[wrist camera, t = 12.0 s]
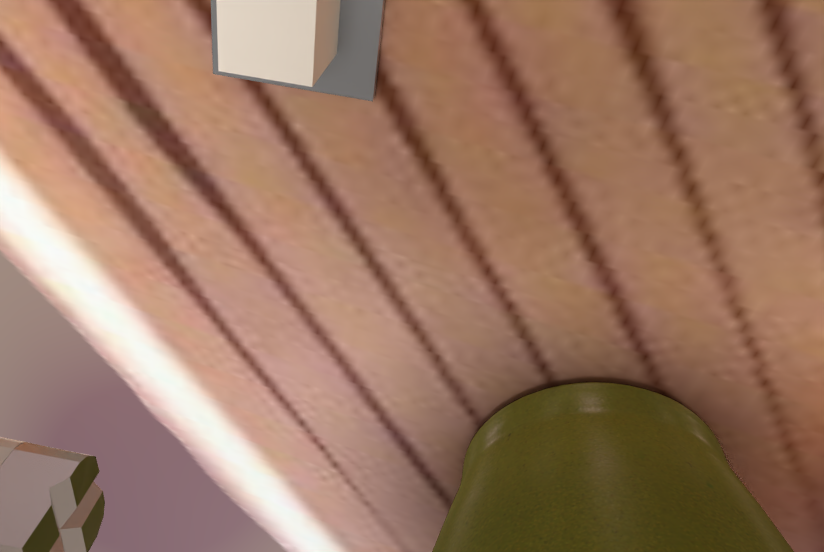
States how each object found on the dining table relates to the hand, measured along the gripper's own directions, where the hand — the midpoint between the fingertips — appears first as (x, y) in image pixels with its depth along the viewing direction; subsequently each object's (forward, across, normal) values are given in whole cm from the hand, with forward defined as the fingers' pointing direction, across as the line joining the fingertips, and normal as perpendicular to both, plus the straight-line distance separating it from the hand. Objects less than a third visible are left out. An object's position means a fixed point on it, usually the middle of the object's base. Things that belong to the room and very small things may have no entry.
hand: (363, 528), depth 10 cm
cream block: (+30, +9, 0) cm, 32 cm away
